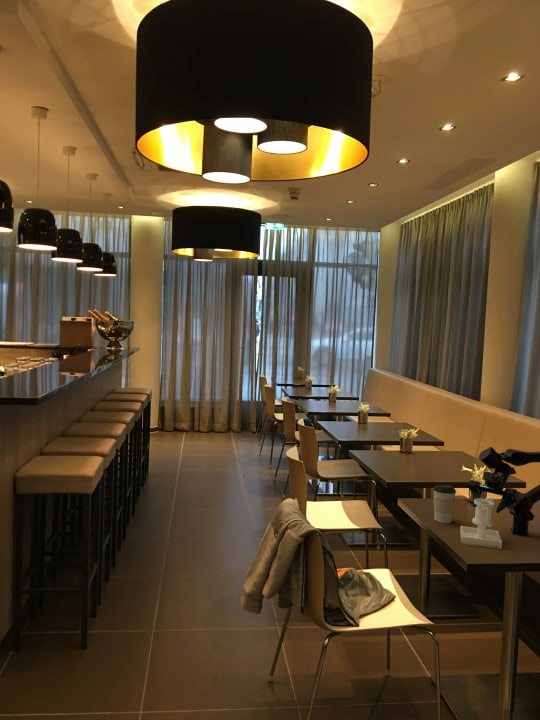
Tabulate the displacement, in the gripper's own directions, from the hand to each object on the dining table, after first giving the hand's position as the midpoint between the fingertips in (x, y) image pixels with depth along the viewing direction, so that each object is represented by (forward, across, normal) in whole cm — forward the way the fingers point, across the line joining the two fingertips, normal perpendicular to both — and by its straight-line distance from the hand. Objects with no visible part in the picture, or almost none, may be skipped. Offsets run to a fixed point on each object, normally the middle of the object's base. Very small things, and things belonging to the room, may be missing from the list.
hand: (484, 509), depth 218 cm
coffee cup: (+2, -22, +14) cm, 26 cm away
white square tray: (+9, 0, +6) cm, 11 cm away
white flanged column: (+9, 0, +6) cm, 11 cm away
